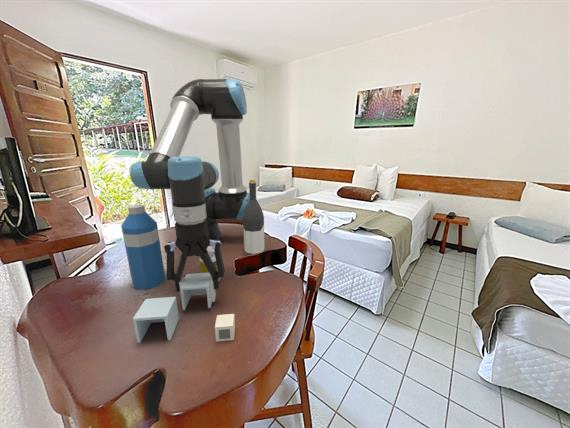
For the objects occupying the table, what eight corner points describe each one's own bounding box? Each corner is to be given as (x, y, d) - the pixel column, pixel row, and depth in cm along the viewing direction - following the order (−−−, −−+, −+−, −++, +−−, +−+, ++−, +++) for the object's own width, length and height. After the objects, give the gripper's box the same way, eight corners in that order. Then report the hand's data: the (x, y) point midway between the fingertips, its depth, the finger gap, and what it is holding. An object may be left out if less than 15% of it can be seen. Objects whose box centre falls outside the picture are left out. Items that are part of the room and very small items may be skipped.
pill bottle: (215, 286, 76) (213, 254, 72) (197, 284, 77) (194, 252, 74) (224, 276, 81) (222, 245, 78) (207, 274, 83) (204, 244, 79)
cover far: (189, 294, 70) (186, 273, 68) (214, 292, 71) (212, 272, 69) (182, 310, 63) (179, 288, 61) (210, 307, 64) (208, 286, 62)
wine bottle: (245, 248, 102) (242, 177, 94) (265, 248, 102) (263, 177, 94) (243, 257, 94) (239, 180, 86) (264, 257, 95) (262, 180, 86)
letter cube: (218, 328, 59) (217, 315, 58) (235, 327, 59) (234, 313, 58) (215, 342, 55) (214, 327, 54) (234, 340, 55) (233, 326, 54)
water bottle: (171, 277, 80) (161, 204, 73) (145, 293, 72) (131, 212, 65) (152, 271, 84) (140, 201, 77) (125, 285, 76) (109, 208, 69)
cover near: (149, 321, 61) (145, 298, 59) (179, 318, 62) (176, 296, 60) (137, 343, 54) (132, 318, 52) (170, 340, 55) (166, 316, 53)
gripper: (141, 226, 55) (155, 312, 62) (230, 223, 58) (235, 305, 65) (154, 217, 63) (165, 294, 69) (232, 214, 65) (236, 289, 72)
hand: (199, 299), depth 67 cm, fingers closed on cover far, 7 cm apart
